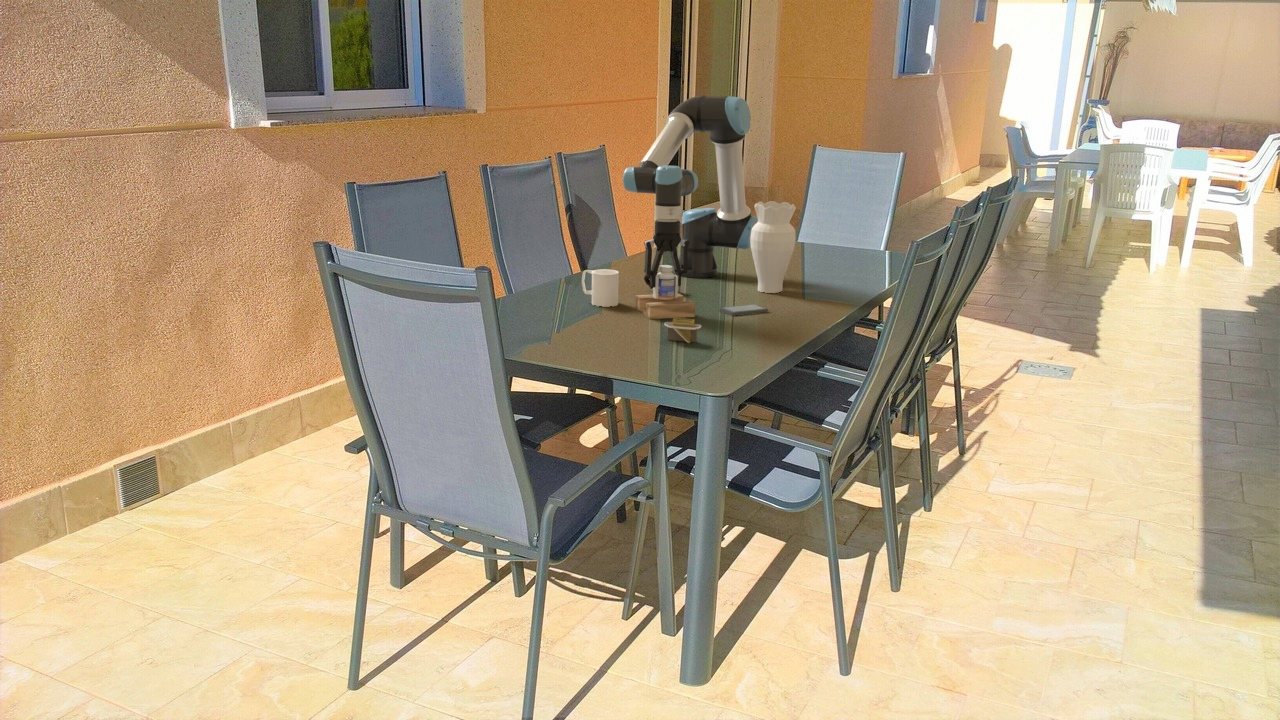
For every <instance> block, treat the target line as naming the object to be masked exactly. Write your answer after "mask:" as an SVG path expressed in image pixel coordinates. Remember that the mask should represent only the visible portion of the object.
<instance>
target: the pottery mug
mask: <svg viewBox="0 0 1280 720" xmlns="http://www.w3.org/2000/svg"><path fill="white" fill-rule="evenodd" d="M659 272H660V271H657V274H658V273H659ZM672 273H673V274H674V275H676V273H675V272H673V271H672ZM644 274H645V275H644V277H643V280H644V282H645V284H646V285H647V286H648V287H649V288H650V290H653V287H651V285H650V275H647V274H646V273H644ZM656 276H657V275H656Z"/></svg>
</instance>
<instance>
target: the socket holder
mask: <svg viewBox="0 0 1280 720" xmlns="http://www.w3.org/2000/svg"><path fill="white" fill-rule="evenodd" d="M635 309H636V310H637V311H638V312H640V313H641V314H642V315H643V316H645V317H646V318H647V319H648V320H656V319H657V320H658V319H673V318H674V319H675V318H680V319H681V318H692V317H693V318H695V317H696V303H695V302H694V301H692V300H684V295H683V294H681V293H679V292H678V298H675V297H674V298H673V299H671V300H661V299H655V298H654V297H653V294H638V295H637V294H636V295H635Z"/></svg>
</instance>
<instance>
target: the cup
mask: <svg viewBox="0 0 1280 720" xmlns="http://www.w3.org/2000/svg"><path fill="white" fill-rule="evenodd" d="M586 273H588V274H591V290H587V289H586V284H585V279H586ZM619 274H620V273H619V271H618V270H615V269H603V268H602V269H595V270H591V269H590V270H589V269H585V270H583V271H582V274H581V275H582V276H581V286H582V292H583V293H584V294H585V295H591V305H592V306H594V305H596V306H595V307H599V306H602V308H609V307H610V306H612V307H616V306H618V305H619V278H620V277H619V276H620V275H619Z"/></svg>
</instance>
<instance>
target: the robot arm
mask: <svg viewBox="0 0 1280 720" xmlns="http://www.w3.org/2000/svg"><path fill="white" fill-rule="evenodd" d="M749 106H750V105H748V102H747V101H746V100H745V99H744V98H743V97H737V96H733V95H729V96H723V95H720V96H716V95H715V96H714V95H696V96H693V97H689V98H688V99H686V100H684V101H682V102H681V103H679V104H678V105H677V106H676V107H675V108H674V109H672V111H671V112H670V113H669V114H668V116H667V117H666V120H665V126H664V127H663V129H662V130H661V132H660V133H659V135H658V136H657V138H655V140H654V142H653V144H651V147H650V148H649V150H648V151H647V152H646V154H645V155H644V156H643V158H642V159H641V161H640V162H639V164H638V165H637V166H629V167H627V168H625V170H624V171H623V175H622V184H623V188H624V190H626V191H627V192H633V193H636V194H652V195H653V194H654V195H655V198H654V200H655V201H654V205H655V206H654V218H655V220H654V228H653V229H654V232H653V233H654V234H653V235H654V236H653V237H652V239H650V240H644V241H643V244H644V247H645V251H644V252H645V253H644V254H645V256H644V271H643V272H644V274H647V275H650V279H649V280H650V285H651V287H653V288H652V295H653V297H654V298H655V299H658V286H659V277H658V276H656V275H657V272H659V271H658V270H659V268H660V266H661V260H662V258H663V255H664V253H665V252H669V253H670V256H671V260H672V261H671V262H672V266H673V270H674V274H676V275H675V284H674V297H675V298H678V293H679V292H678V290H679V287H681V284H682V277H685V278H695V279H697V278H698V279H702V278H703V279H704V278H713V277H717V276H718V274H719V267H718V264H717V260H716V257H715V253H714V252H715V247H716V248H717V247H718V248H727V249H736V250H748V249H751V240H750V237H751V231H752V228H753V226H754V225H755V224H756V223H757V222H758V218H757V216H755V215H752V213H751V212H752V211H751V208H750V207H749V206H748V205H747V204H746V203H747V201H746V191H745V189H746V188H745V178H744V162H743V152H742V151H743V149H742V148H743V147H742V142H743V141H744V139H745V137H746V135H747V134H748V133H749V131H750V128H751V120H752V119H751V118H752V117H751V112H750V107H749ZM693 133H694V134H695V133H704V134H705V133H708V134H709V141H710V142H711V143H713V145H714V147H715V159H716V161H715V162H716V169H717V170H716V171H717V172H716V173H717V182H718V192H719V193H718V194H719V205H720V207H719V208H718V210H717V211H716V208H715V207H703V208H693V209H688V210H686V211H684V212H683V213H682V217H681V212H682V211H681V209H682V208H681V207H682V206H681V205H682V203H681V202H682V197H683V196H685V197H686V196H690V194H692V193H694V192H695V191H697V188H698V185H699V178H698V175H697V174H696V173H695V172H694V171H693V170H691V169H688V168H687V169H683V168H681V167H680V166H678V165H669V164H670V162H671V161H672V160H673V158H674V156H675V155H676V153H677V152H678V151H679V149H680V147H681V146H682V144H683V143H684V141H685V140H686V139H689V138H690V137H691V136H692V135H693ZM680 219H682V220H681V221H680ZM680 233H681V235H680ZM679 244H680V253H679V256H678V249H677V247H678V246H679ZM654 245H655V247H656V249H655V256H654V258H653V262H652V257H653V256H652V255H653V247H654Z"/></svg>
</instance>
